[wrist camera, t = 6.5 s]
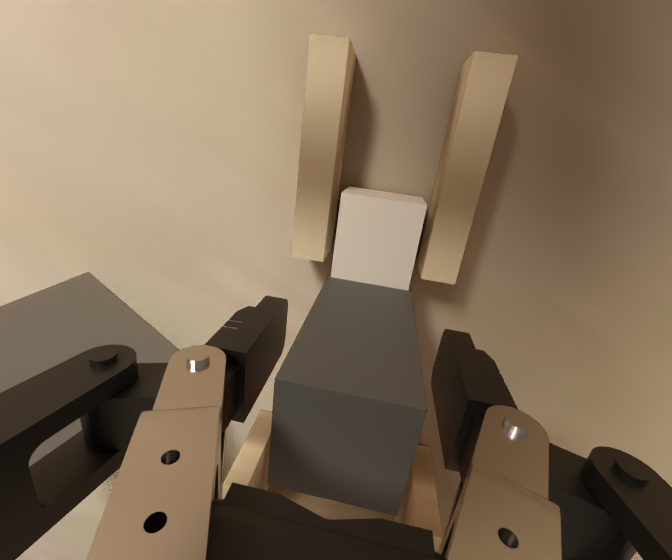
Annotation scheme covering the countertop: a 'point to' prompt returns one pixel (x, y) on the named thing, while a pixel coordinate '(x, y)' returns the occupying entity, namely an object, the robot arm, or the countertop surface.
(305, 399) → the gray block
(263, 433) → the box
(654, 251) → the countertop surface
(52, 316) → the perfume bottle
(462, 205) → the rail guide
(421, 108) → the countertop surface
